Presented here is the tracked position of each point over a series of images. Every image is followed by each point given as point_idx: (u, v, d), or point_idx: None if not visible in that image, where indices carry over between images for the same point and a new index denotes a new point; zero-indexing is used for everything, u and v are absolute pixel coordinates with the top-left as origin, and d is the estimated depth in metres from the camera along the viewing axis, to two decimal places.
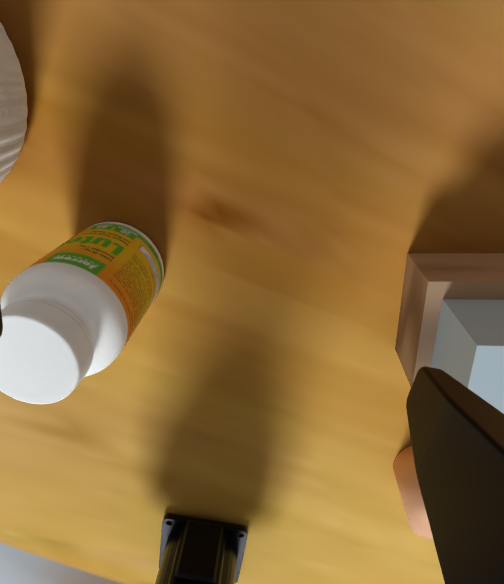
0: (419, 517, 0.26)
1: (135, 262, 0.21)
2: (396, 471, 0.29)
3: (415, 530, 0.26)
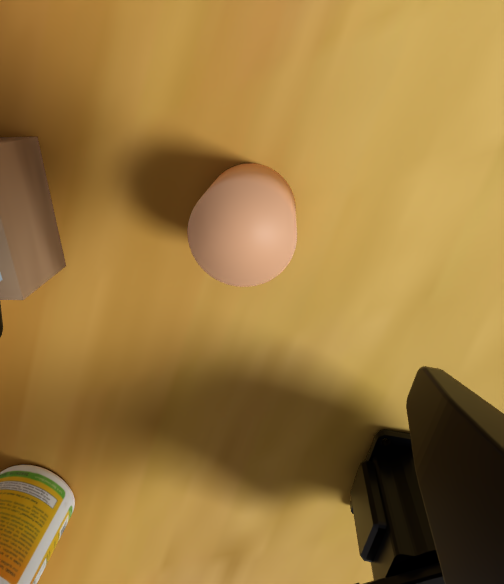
0: (244, 270, 0.16)
1: None
2: None
3: (275, 272, 0.16)
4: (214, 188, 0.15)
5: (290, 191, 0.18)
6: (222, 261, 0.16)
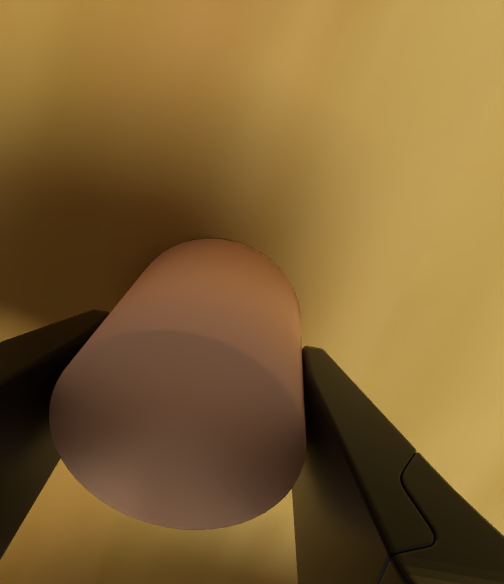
0: (187, 502, 0.07)
1: None
2: None
3: (256, 509, 0.07)
4: (100, 343, 0.06)
5: (290, 298, 0.09)
6: (135, 484, 0.07)
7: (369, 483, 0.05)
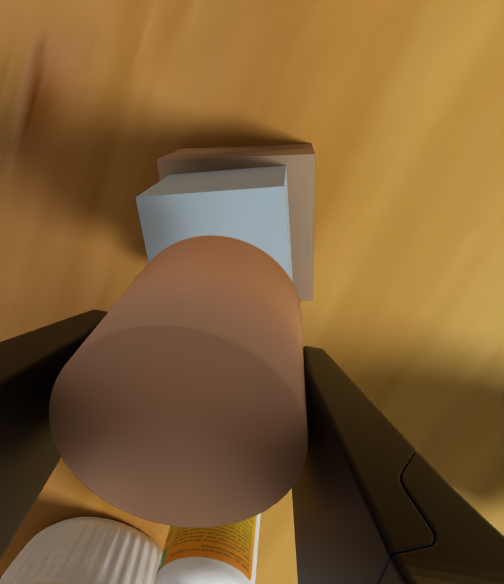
0: (187, 500, 0.07)
1: None
2: None
3: (257, 507, 0.07)
4: (100, 339, 0.06)
5: (291, 295, 0.09)
6: (135, 482, 0.07)
7: (369, 483, 0.05)
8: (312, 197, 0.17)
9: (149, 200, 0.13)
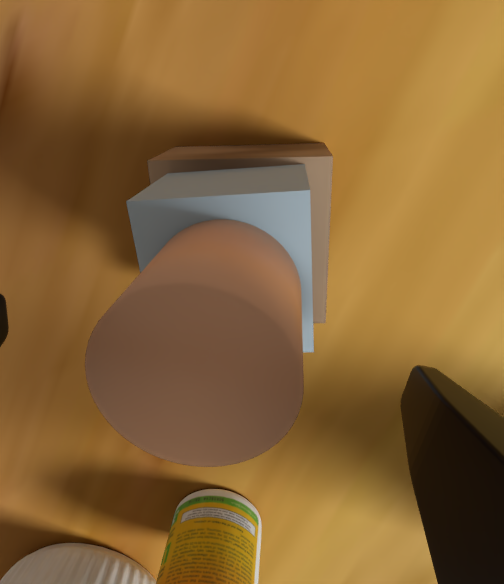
0: (201, 440, 0.08)
1: (179, 542, 0.23)
2: None
3: (261, 447, 0.08)
4: (130, 296, 0.07)
5: (292, 271, 0.10)
6: (156, 423, 0.08)
7: None
8: (328, 206, 0.14)
9: (143, 205, 0.11)
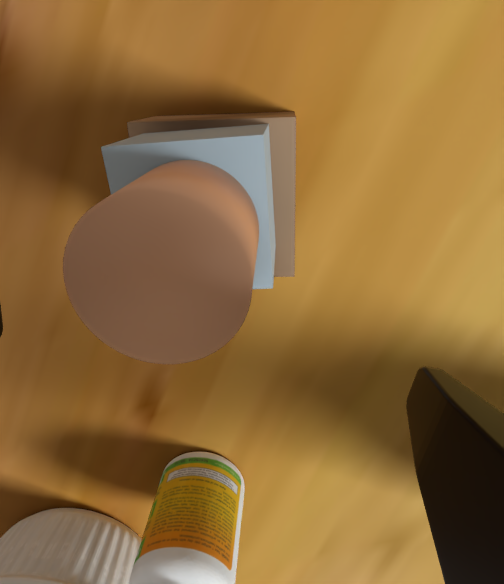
0: (166, 338, 0.10)
1: (164, 498, 0.24)
2: None
3: (218, 343, 0.10)
4: (102, 202, 0.08)
5: (248, 204, 0.12)
6: (127, 324, 0.10)
7: None
8: (293, 164, 0.16)
9: (116, 150, 0.12)
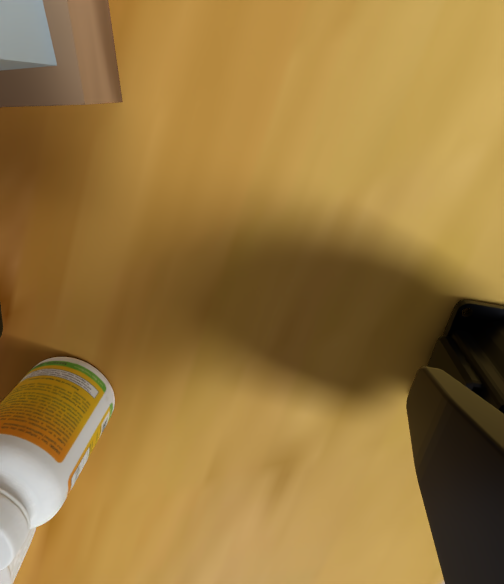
0: None
1: (7, 396, 0.22)
2: None
3: None
4: None
5: None
6: None
7: None
8: None
9: None
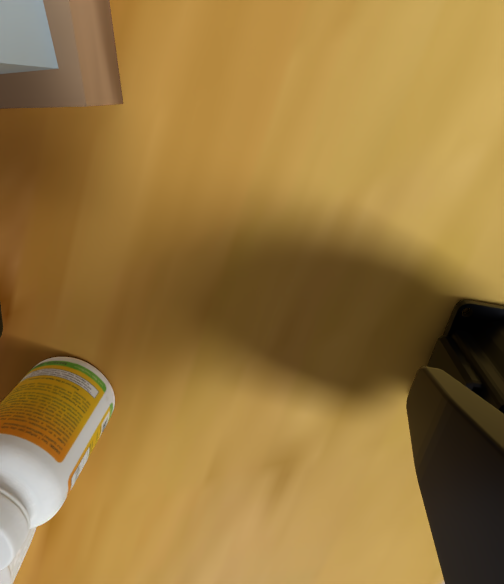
0: None
1: (8, 396, 0.22)
2: None
3: None
4: None
5: None
6: None
7: None
8: None
9: None
